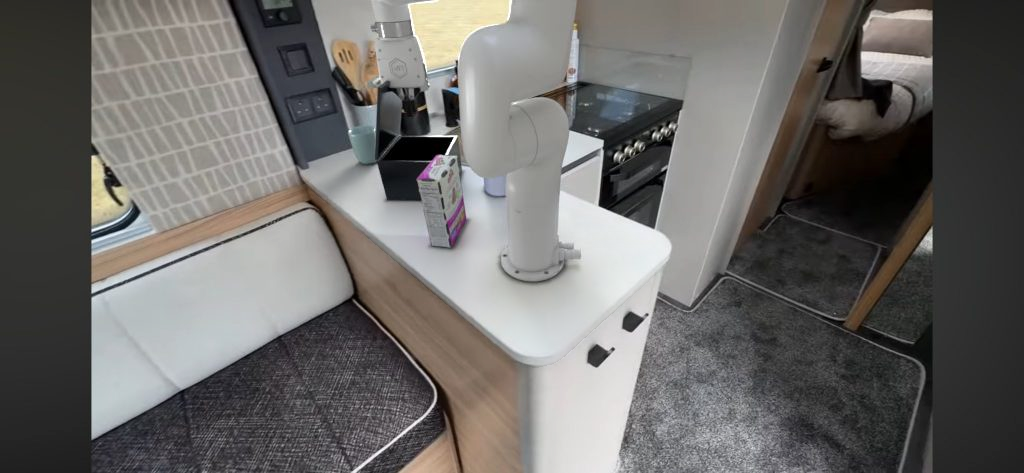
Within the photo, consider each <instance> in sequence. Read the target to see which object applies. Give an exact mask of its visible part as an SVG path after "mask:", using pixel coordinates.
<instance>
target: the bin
mask: <svg viewBox="0 0 1024 473" xmlns="http://www.w3.org/2000/svg"><path fill="white" fill-rule="evenodd" d="M460 150H461V149H460V143H459V136H458V135H399V136H398V137H397V138H396V140H395V141H394V142H393V143H392V144H391V145H390V147H389V148H388V149H387V150H386V151H385V152H384V154H383V155H382V156H381V157H380V158H379V160H378V161H376V164H377V168H378V172H379V175H380V176H379V177H380V179H381V183H382V187H383V190H384V194H385V197H386V201H400V202H401V201H402V202H403V201H405V202H406V201H408V202H410V201H411V202H413V201H414V202H421V197H420V192H419V188H418V184H417V180H416V179H417V178H418V177H419V176H420V174H421V173H422V172H423V171H424V170H425V169H426V167H427V166H428V165H429V164H430V163H431V161H432V160H433V159H434V158H435V157H436V155H451V156H457V157H458V165H459V172H460V177H462V173H463V168H462V166H463V165H462V159H461V151H460Z"/></svg>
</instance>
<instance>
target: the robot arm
mask: <svg viewBox="0 0 1024 473" xmlns="http://www.w3.org/2000/svg"><path fill="white" fill-rule="evenodd" d="M438 1H440V0H370V3H371V7H372V12H373V16H374V21H375V22H374V24H370V31H371V32H373V33H376V35H377V36H378V37H377V38H374V39H375V40H374V42H375V57H376V65H377V71H378V76H379V77H380V81H381V83H380V85H381V84H383V83H384V82H385V81H390V88H393V89H392V91H393V93H395V94H396V95H397V96H398V97H399V99H400V100H402V110H403V112H404V114H405V115H406V118H415V116H416V115H417V114H418V112H419V109H418V108H419V106H418V101H417V97H418V95H419V94H420V93H422V92H426V91H429V89H430V82H428V80H429V74H428V69H427V64H426V59H425V55H424V52H423V49H422V45H421V43H420V40H419V37H418V35H415V29H414V24H413V19H412V13H411V7H410V5H414V4H415V5H416V4H426V3H434V2H438ZM577 6H578V0H509V10H508V11H509V12H508V16H507V20H506V21H505V22H503V23H496V24H489V25H486V26H481V27H479V28H476V29H475V30H473V31H472V32H470V33H469V34H468V35H467V36H466V38H464V41H463V43H462V45H461V47H460V51H459V54H458V59H457V85H458V86H457V87H458V88H457V90H458V106H459V123H460V125H459V126H460V138H461V145H462V151H463V155H464V159H465V162H466V163H467V165H468V167H469V168H470V169H471V171H472V172H473V173H474V174H475V175H477V176H478V177H480V178H483V179H484V178H488V179H491V178H497V177H500V176H503V175H506V174H507V177H506V185H505V189H506V195H505V205H506V206H505V207H506V229H507V230H506V231H507V244H508V245H507V246H505V248H503V250H502V252H501V254H500V264H501V267H502V269H503V270H504V272H505V273H507V274H508V275H509V276H511V277H513V278H514V279H517V280H520V281H525V282H540V281H541V282H542V281H545V280H549V279H551V278H553V277H555V276H556V275H558V274H559V273H560V272H561V271H562V269H563V268H564V265H565V260H581V259H582V250H581V249H574V248H575V243H574V242H565V243H564V242H562V241H559V240H560V239H559V215H560V214H559V213H560V212H559V211H560V196H561V195H560V194H561V179H562V169H563V165H564V164H563V163H564V159H565V155H566V151H567V147H568V144H569V138H570V123H569V122H570V121H569V118H568V115H567V113H566V110H565V109H564V107H563V106H562V105H561V104H560V103H559V102H557V101H556V100H554V99H552V98H550V97H545V96H544V97H543V96H541V97H540V95H543V94H546V93H548V92H551V91H553V90H556V89H557V88H558V87H560V86H561V84H562V83H563V82H564V80H565V79H566V76H567V73H568V68H569V65H570V64H569V63H570V57H571V50H572V43H573V35H574V26H575V19H576V11H577ZM407 89H408V90H407ZM538 96H539V97H538Z"/></svg>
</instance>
